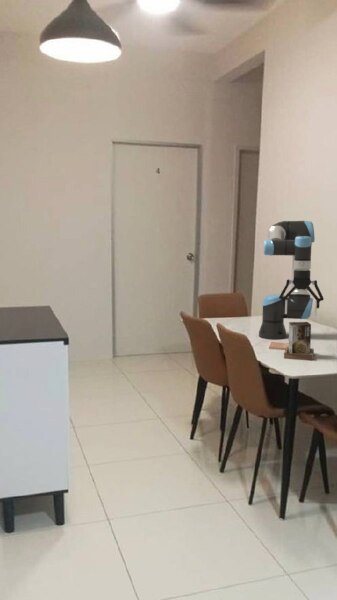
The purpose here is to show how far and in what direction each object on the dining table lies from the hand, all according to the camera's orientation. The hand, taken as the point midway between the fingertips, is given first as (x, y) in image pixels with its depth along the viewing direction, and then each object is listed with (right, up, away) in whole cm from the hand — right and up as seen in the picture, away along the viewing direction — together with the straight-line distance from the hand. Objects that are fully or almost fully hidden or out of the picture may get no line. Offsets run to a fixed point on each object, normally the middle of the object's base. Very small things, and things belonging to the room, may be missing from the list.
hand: (300, 314), depth 244 cm
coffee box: (0, -20, +4) cm, 21 cm away
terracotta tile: (-5, -17, +21) cm, 27 cm away
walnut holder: (0, -20, +4) cm, 20 cm away
